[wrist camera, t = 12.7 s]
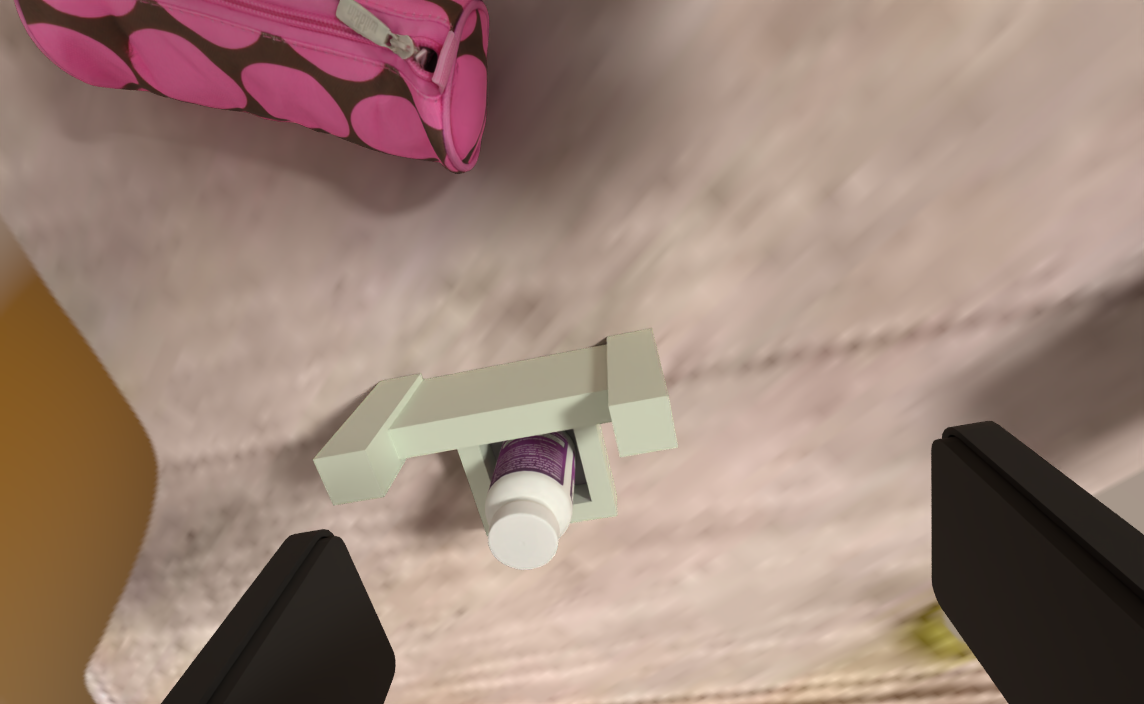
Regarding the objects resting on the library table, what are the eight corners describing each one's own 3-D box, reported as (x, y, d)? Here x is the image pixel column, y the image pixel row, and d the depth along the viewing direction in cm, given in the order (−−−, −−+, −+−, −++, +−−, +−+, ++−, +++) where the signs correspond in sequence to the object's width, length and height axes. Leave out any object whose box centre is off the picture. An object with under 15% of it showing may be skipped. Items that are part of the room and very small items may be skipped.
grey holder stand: (379, 381, 40) (312, 459, 31) (651, 328, 38) (668, 395, 28) (433, 523, 44) (389, 630, 35) (680, 484, 42) (703, 587, 32)
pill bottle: (486, 440, 41) (454, 530, 32) (547, 404, 40) (532, 486, 31) (531, 494, 42) (512, 594, 33) (591, 461, 41) (588, 555, 32)
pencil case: (515, -14, 31) (479, -73, 22) (491, 171, 35) (451, 188, 25) (118, -97, 30) (-95, -194, 21) (135, 100, 34) (-40, 91, 25)
